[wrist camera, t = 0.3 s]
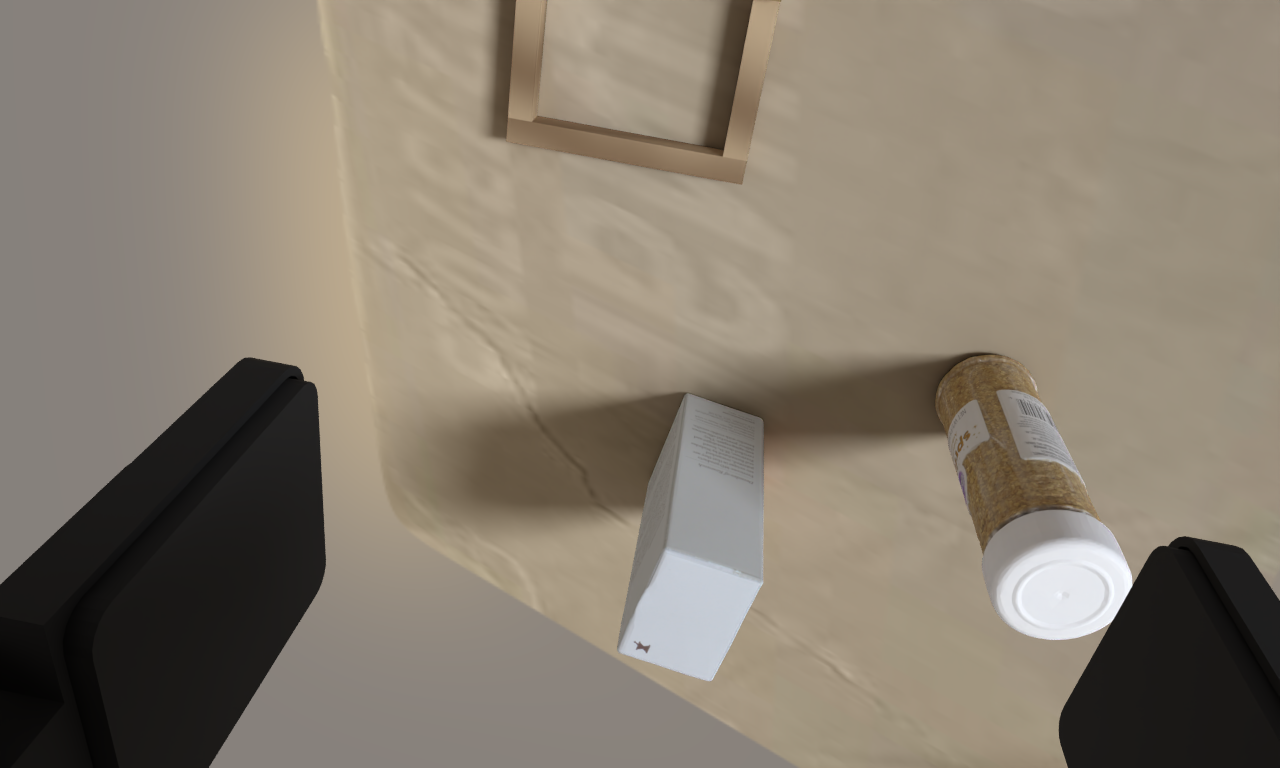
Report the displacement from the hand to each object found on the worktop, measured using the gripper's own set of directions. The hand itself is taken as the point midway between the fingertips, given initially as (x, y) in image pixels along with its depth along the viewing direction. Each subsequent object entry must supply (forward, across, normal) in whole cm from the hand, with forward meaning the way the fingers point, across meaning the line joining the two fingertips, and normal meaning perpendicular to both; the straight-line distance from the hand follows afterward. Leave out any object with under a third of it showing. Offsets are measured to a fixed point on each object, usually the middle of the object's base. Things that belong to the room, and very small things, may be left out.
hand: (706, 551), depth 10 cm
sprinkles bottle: (+30, -13, +13) cm, 36 cm away
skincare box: (+30, -1, +19) cm, 36 cm away
